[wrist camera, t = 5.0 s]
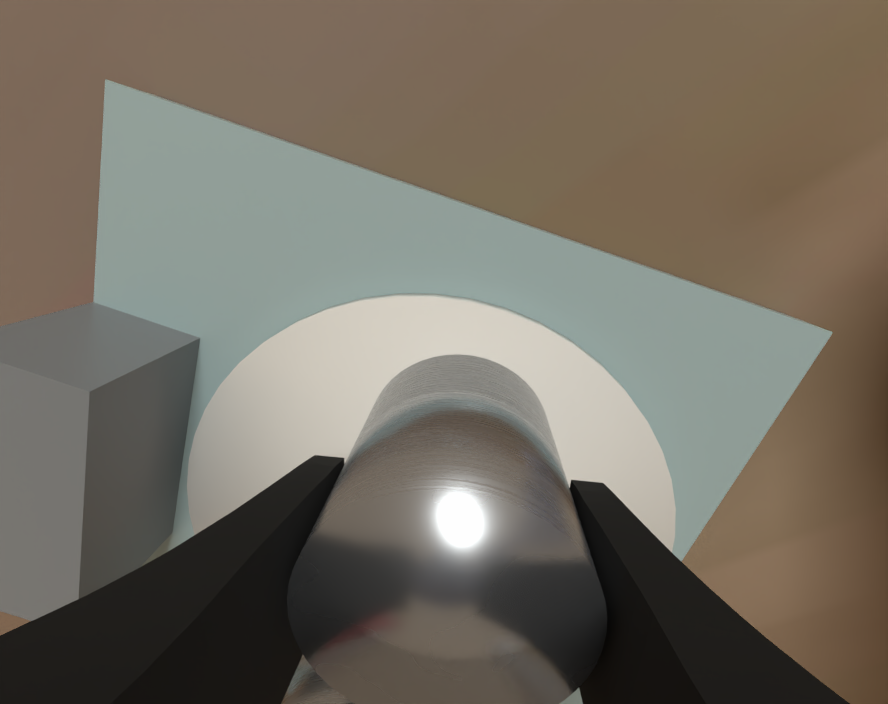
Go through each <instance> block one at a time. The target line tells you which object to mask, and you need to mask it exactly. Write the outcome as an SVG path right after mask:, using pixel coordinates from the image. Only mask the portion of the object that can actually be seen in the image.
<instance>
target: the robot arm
mask: <svg viewBox="0 0 888 704" xmlns="http://www.w3.org/2000/svg"><path fill="white" fill-rule="evenodd" d="M343 466H344V458H340V457H330V456H320V455H314V456H313V457H311V458H309V459H308V460H306V461H305V462H303V463H302V464H300V465H299V466H297V467H296V468H295V469H293V470H292V471H290V472H289V473H287V474H286V475H285V476H283V477H282V478H280V479H279V480H278V481H276V482H275V483H273V484H272V485H270V486H269V487H268V488H266V489H265V490H263V491H262V492H260V493H259V494H257V495H256V496H254V497H253V498H251V499H250V500H248V501H247V502H246V503H244V504H243V505H241V506H240V507H238V508H237V509H235V510H234V511H232V512H231V513H229V514H228V515H226V516H224V517H223V518H221V519H220V520H218V521H216V522H215V523H213V524H212V525H210V526H208V527H207V528H205V529H204V530H202V531H200V532H199V533H197V534H196V535H194V536H192V537H191V538H189V539H188V540H186V541H184V542H183V543H181V544H180V545H178V546H176V547H175V548H173V549H171V550H170V551H168V552H166V553H164V554H163V555H161V556H159V557H157V558H156V559H154V560H152V561H150V562H149V563H147V564H145V565H143V566H141V567H140V568H138V569H136V570H134V571H132V572H130V573H128V574H126V575H125V576H123V577H121V578H119V579H117V580H115V581H113V582H111V583H109V584H108V585H106V586H104V587H102V588H100V589H98V590H96V591H94V592H92V593H90V594H88V595H86V596H84V597H82V598H80V599H78V600H76V601H74V602H71V603H69V604H67V605H65V606H63V607H61V608H59V609H56V610H54V611H52V612H50V613H48V614H46V615H44V616H41V617H39V618H37V619H35V620H33V621H31V622H29V623H26V624H24V625H22V626H20V627H18V628H16V629H14V630H12V631H9V632H7V633H5V634H3V635H1V636H0V704H281V703H282V701H283V699H284V696H285V694H286V692H287V690H288V687H289V685H290V683H291V680H292V678H293V676H294V674H295V671H296V669H297V667H298V665H299V662H300V660H301V658H302V655H303V654H302V652H301V650H300V648H299V647H298V645H297V642H296V640H295V638H294V635H293V633H292V630H291V626H290V622H289V618H288V609H287V594H288V584H289V581H290V577H291V574H292V570H293V568H294V565H295V563H296V561H297V559H298V557H299V555H300V553H301V551H302V549H303V547H304V545H305V543H306V541H307V539H308V537H309V535H310V533H311V531H312V529H313V527H314V525H315V523H316V521H317V519H318V517H319V515H320V513H321V511H322V509H323V507H324V505H325V503H326V501H327V499H328V497H329V495H330V493H331V491H332V489H333V486H334V484H335V482H336V480H337V478H338V476H339V474H340V472H341V470H342V468H343ZM570 491H571V494H572V497H573V500H574V504H575V507H576V510H577V513H578V516H579V519H580V522H581V525H582V529H583V532H584V535H585V538H586V541H587V544H588V547H589V550H590V554H591V557H592V560H593V563H594V566H595V569H596V572H597V575H598V578H599V582H600V585H601V588H602V591H603V595H604V598H605V602H606V610H607V634H606V638H605V642H604V646H603V650H602V652H601V655H600V657H599V659H598V661H597V664H596V665H595V667H594V669H593V670H592V672H591V673H590V675H589V676H588V678H587V679H586V680H585V681H584V682H583V683H582V684H581V686H580V687H579V689H580V694H581V698H582V702H583V704H849V703H848V702H847V701H845V700H844V699H843V698H841V697H840V696H839V695H838V694H836V693H835V692H834V691H832V690H831V689H830V688H828V687H827V686H826V685H824V684H823V683H822V682H820V681H819V680H818V679H817V678H815V677H814V676H813V675H812V674H810V673H809V672H808V671H807V670H805V669H804V668H803V667H802V666H800V665H799V664H798V663H797V662H795V661H794V660H793V659H792V658H790V657H789V656H788V655H787V654H785V653H784V652H783V651H782V650H780V649H779V648H778V647H777V646H775V645H774V644H773V643H772V642H770V641H769V640H768V639H767V638H766V637H764V636H763V635H762V634H761V633H760V632H759V631H757V630H756V629H755V628H754V627H753V626H751V625H750V624H749V623H748V622H747V621H746V620H744V619H743V618H742V617H741V616H740V615H739V614H738V613H737V612H735V611H734V610H733V609H732V608H731V607H730V606H729V605H728V604H726V603H725V602H724V601H723V600H722V599H721V598H720V597H719V596H718V595H716V594H715V593H714V592H713V591H712V590H711V589H710V588H709V587H707V586H706V585H705V584H704V583H703V582H702V581H701V580H700V579H699V578H698V577H697V576H696V575H695V574H694V573H693V572H691V571H690V570H689V569H688V568H687V567H686V566H685V565H684V564H683V563H682V562H681V561H680V560H679V559H678V558H677V557H676V556H675V555H674V554H673V553H672V552H671V551H670V550H669V549H668V548H667V547H666V546H665V545H664V544H663V543H662V542H661V541H660V540H659V539H658V538H657V537H656V536H655V535H654V534H653V533H652V532H651V531H650V530H649V529H648V528H647V527H646V526H645V525H644V524H643V523H642V522H641V521H640V520H639V519H638V518H637V517H636V516H635V515H634V514H633V513H632V512H631V511H630V510H629V508H628V507H627V506H626V505H625V504H624V503H623V502H622V501H621V500H620V499H619V498H618V497H617V496H616V495H615V494H614V493H613V492H612V491H611V490H610V489H609V488H608V487H607V486H606V485H605V484H604V483H600V482H590V481H579V480H571V483H570Z"/></svg>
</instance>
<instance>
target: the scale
mask: <svg viewBox="0 0 888 704" xmlns="http://www.w3.org/2000/svg"><path fill="white" fill-rule="evenodd" d="M832 333H833V332H831V331H828V330H826V329H823V328H820V327H818V326H815V325H813V324H810V323H807V322H805V321H802V320H799V319H797V318H794V317H792V316H789V315H786V314H783V313H780V312H777V311H774V310H772V309H769V308H766V307H763V306H760V305H757V304H754V303H751V302H749V301H746V300H743V299H740V298H737V297H734V296H731V295H728V294H726V293H723V292H720V291H717V290H714V289H711V288H708V287H705V286H703V285H700V284H697V283H694V282H691V281H688V280H685V279H682V278H680V277H677V276H674V275H671V274H668V273H665V272H662V271H659V270H657V269H654V268H651V267H648V266H645V265H642V264H639V263H636V262H634V261H631V260H628V259H625V258H622V257H619V256H616V255H613V254H610V253H608V252H605V251H602V250H599V249H596V248H593V247H590V246H587V245H585V244H582V243H579V242H576V241H573V240H570V239H567V238H564V237H562V236H559V235H556V234H553V233H550V232H547V231H544V230H541V229H539V228H536V227H533V226H530V225H527V224H524V223H521V222H518V221H516V220H513V219H510V218H507V217H504V216H501V215H498V214H495V213H493V212H490V211H487V210H484V209H481V208H478V207H475V206H472V205H470V204H467V203H464V202H461V201H458V200H455V199H452V198H449V197H447V196H444V195H441V194H438V193H435V192H432V191H429V190H426V189H424V188H421V187H418V186H415V185H412V184H409V183H406V182H403V181H401V180H398V179H395V178H392V177H389V176H386V175H383V174H380V173H378V172H375V171H372V170H369V169H366V168H363V167H360V166H357V165H354V164H352V163H349V162H346V161H343V160H340V159H337V158H334V157H331V156H329V155H326V154H323V153H320V152H317V151H314V150H311V149H308V148H306V147H303V146H300V145H297V144H294V143H291V142H288V141H285V140H283V139H280V138H277V137H274V136H271V135H268V134H265V133H262V132H260V131H257V130H254V129H251V128H248V127H245V126H242V125H239V124H237V123H234V122H231V121H228V120H225V119H222V118H219V117H216V116H214V115H211V114H208V113H205V112H202V111H199V110H196V109H193V108H191V107H188V106H185V105H182V104H179V103H176V102H173V101H170V100H168V99H165V98H162V97H159V96H156V95H153V94H150V93H147V92H144V91H140V90H137V89H134V88H131V87H128V86H125V85H122V84H118V83H115V82H112V81H109V80H106V79H105V96H104V115H103V134H102V152H101V171H100V190H99V209H98V228H97V247H96V265H95V284H94V302H92V303H88V304H85V305H81V306H77V307H73V308H69V309H66V310H62V311H58V312H54V313H50V314H46V315H43V316H39V317H35V318H31V319H27V320H24V321H20V322H16V323H12V324H8V325H5V326H1V327H0V611H2V612H5V613H8V614H11V615H15V616H18V617H21V618H24V619H27V620H30V621H33V620H35V619H37V618H39V617H41V616H44V615H46V614H48V613H50V612H52V611H54V610H56V609H59V608H61V607H63V606H65V605H67V604H69V603H71V602H74V601H76V600H78V599H80V598H82V597H84V596H86V595H88V594H90V593H92V592H94V591H96V590H98V589H100V588H102V587H104V586H106V585H108V584H109V583H111V582H113V581H115V580H117V579H119V578H121V577H123V576H125V575H126V574H128V573H130V572H132V571H134V570H136V569H138V568H140V567H141V566H143V565H145V564H147V563H149V562H150V561H152V560H154V559H156V558H157V557H159V556H161V555H163V554H164V553H166V552H168V551H170V550H171V549H173V548H175V547H176V546H178V545H180V544H181V543H183V542H184V541H186V540H188V539H189V538H191V537H192V536H194V535H196V534H197V533H199V532H200V531H202V530H204V529H205V528H207V527H208V526H210V525H212V524H213V523H215V522H216V521H218V520H220V519H221V518H223V517H224V516H226V515H228V514H229V513H231V512H232V511H234V510H235V509H237V508H238V507H240V506H241V505H243V504H244V503H246V502H247V501H248V500H250V499H251V498H253V497H254V496H256V495H257V494H259V493H260V492H262V491H263V490H265V489H266V488H268V487H269V486H270V485H272V484H273V483H275V482H276V481H278V480H279V479H280V478H282V477H283V476H285V475H286V474H287V473H289V472H290V471H292V470H293V469H295V468H296V467H297V466H299V465H300V464H302V463H303V462H305V461H306V460H308V459H309V458H311V457H313V456H314V455H320V456H330V457H340V458H344V464H345V462H346V460H347V458H348V456H349V454H350V452H351V450H352V448H353V446H354V444H355V442H356V440H357V438H358V436H359V434H360V432H361V430H362V428H363V426H364V424H365V422H366V420H367V418H368V416H369V414H370V412H371V410H372V408H373V406H374V404H375V402H376V400H377V398H378V396H379V394H380V393H381V391H382V390H383V389H384V387H385V386H386V385H387V384H388V383H389V382H390V381H391V379H392V378H394V377H395V376H396V375H397V374H399V373H400V372H401V371H403V370H404V369H406V368H407V367H409V366H411V365H413V364H415V363H417V362H420V361H422V360H425V359H428V358H432V357H436V356H442V355H454V354H461V355H472V356H477V357H481V358H485V359H488V360H491V361H494V362H496V363H498V364H501V365H503V366H505V367H507V368H508V369H510V370H511V371H513V372H514V373H516V374H517V375H518V376H519V377H521V378H522V379H523V380H524V381H525V382H526V383H527V384H528V385H529V386H530V387H531V388H532V390H533V391H534V392H535V394H536V395H537V397H538V398H539V400H540V402H541V404H542V406H543V408H544V410H545V413H546V416H547V419H548V422H549V426H550V429H551V432H552V435H553V438H554V441H555V444H556V447H557V451H558V454H559V457H560V460H561V463H562V466H563V469H564V472H565V476H566V479H567V482H568V485H569V488H570V483H571V480H579V481H590V482H600V483H604V484H605V485H606V486H607V487H608V488H609V489H610V490H611V491H612V492H613V493H614V494H615V495H616V496H617V497H618V498H619V499H620V500H621V501H622V502H623V503H624V504H625V505H626V506H627V507H628V508H629V510H630V511H631V512H632V513H633V514H634V515H635V516H636V517H637V518H638V519H639V520H640V521H641V522H642V523H643V524H644V525H645V526H646V527H647V528H648V529H649V530H650V531H651V532H652V533H653V534H654V535H655V536H656V537H657V538H658V539H659V540H660V541H661V542H662V543H663V544H664V545H665V546H666V547H667V548H668V549H669V550H670V551H671V552H672V553H673V554H674V555H675V556H676V557H677V558H678V559H679V560H680V561H682V560H683V558H684V557H685V555H686V554H687V552H688V551H689V549H690V547H691V546H692V544H693V543H694V541H695V540H696V538H697V537H698V535H699V534H700V532H701V531H702V529H703V528H704V526H705V525H706V523H707V522H708V520H709V519H710V517H711V516H712V514H713V513H714V511H715V510H716V508H717V507H718V505H719V504H720V502H721V501H722V499H723V498H724V496H725V495H726V493H727V492H728V490H729V489H730V487H731V486H732V484H733V483H734V481H735V480H736V478H737V477H738V475H739V474H740V472H741V471H742V469H743V467H744V466H745V464H746V463H747V461H748V460H749V458H750V457H751V455H752V454H753V452H754V451H755V449H756V448H757V446H758V445H759V443H760V442H761V440H762V439H763V437H764V436H765V434H766V433H767V431H768V430H769V428H770V427H771V425H772V424H773V422H774V421H775V419H776V418H777V416H778V415H779V413H780V412H781V410H782V409H783V407H784V406H785V404H786V403H787V401H788V400H789V398H790V397H791V395H792V394H793V392H794V391H795V389H796V388H797V386H798V384H799V383H800V381H801V380H802V378H803V377H804V375H805V374H806V372H807V371H808V369H809V368H810V366H811V365H812V363H813V362H814V360H815V359H816V357H817V356H818V354H819V353H820V351H821V350H822V348H823V347H824V345H825V344H826V342H827V341H828V339H829V338H830V336H831V335H832ZM559 704H583V702H582V698H581V694H580V689H579V688H578V689H577V690H576V691H575V692H574V693H572V694H571V695H570V696H569V697H568V698H566V699H565V700H564V701H563V702H561V703H559Z"/></svg>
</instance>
